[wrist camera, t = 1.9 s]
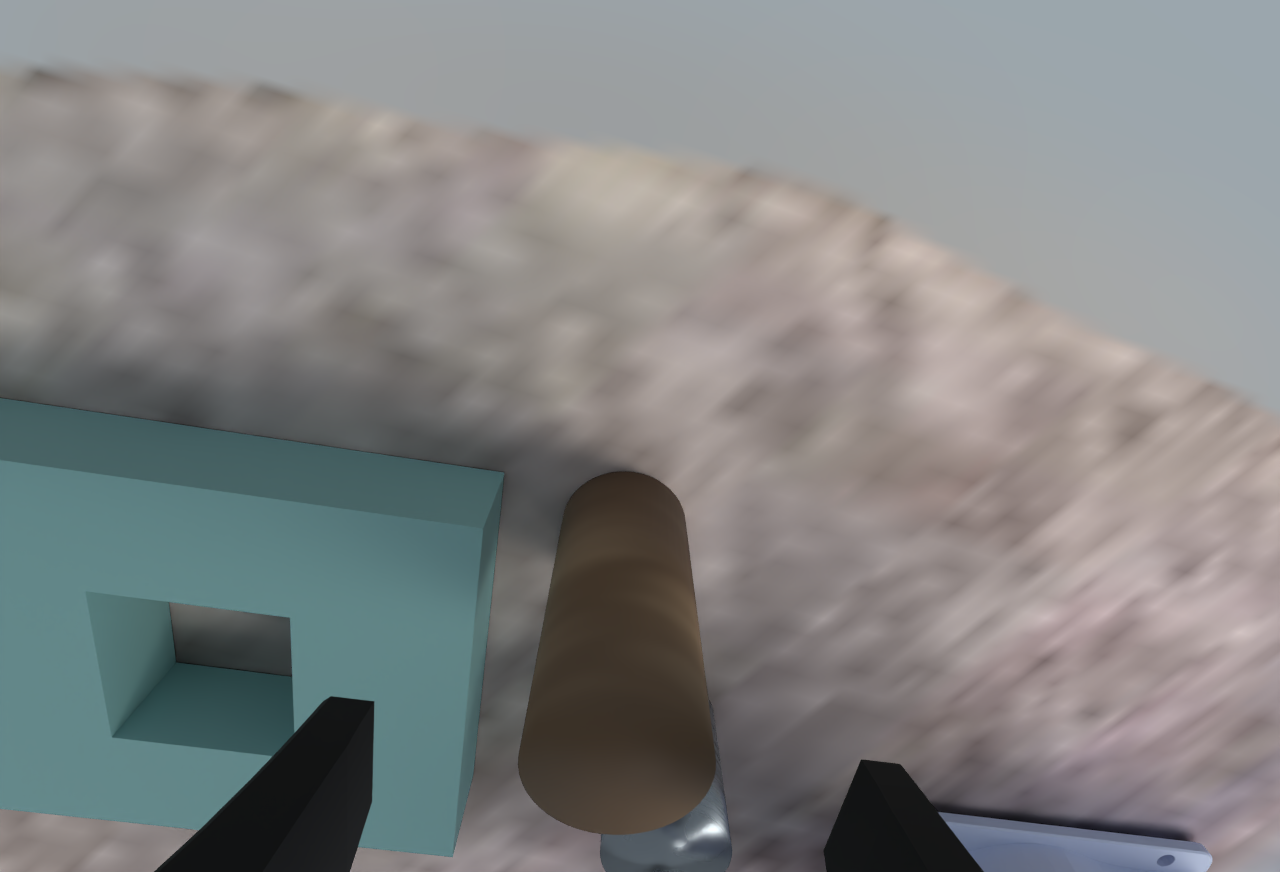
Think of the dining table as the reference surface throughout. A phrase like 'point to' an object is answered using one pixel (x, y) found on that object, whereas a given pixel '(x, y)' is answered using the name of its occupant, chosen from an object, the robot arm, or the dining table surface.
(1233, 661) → the dining table surface
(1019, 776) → the dining table surface
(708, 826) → the metal stub
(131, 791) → the hole block
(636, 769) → the walnut dowel
